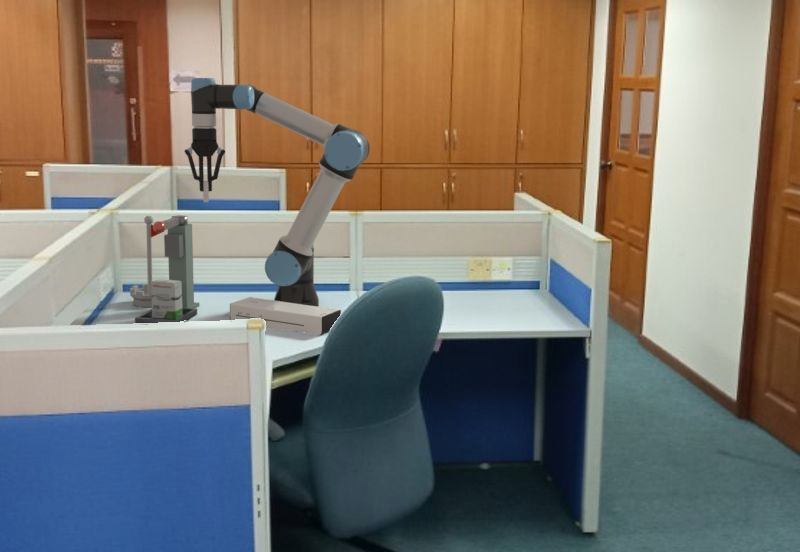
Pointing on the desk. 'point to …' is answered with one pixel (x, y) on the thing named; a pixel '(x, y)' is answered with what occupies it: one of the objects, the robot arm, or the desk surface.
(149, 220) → the flag stand
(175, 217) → the lever
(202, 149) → the robot arm
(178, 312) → the ink box
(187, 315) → the tray
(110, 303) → the desk surface
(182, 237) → the column
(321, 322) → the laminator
